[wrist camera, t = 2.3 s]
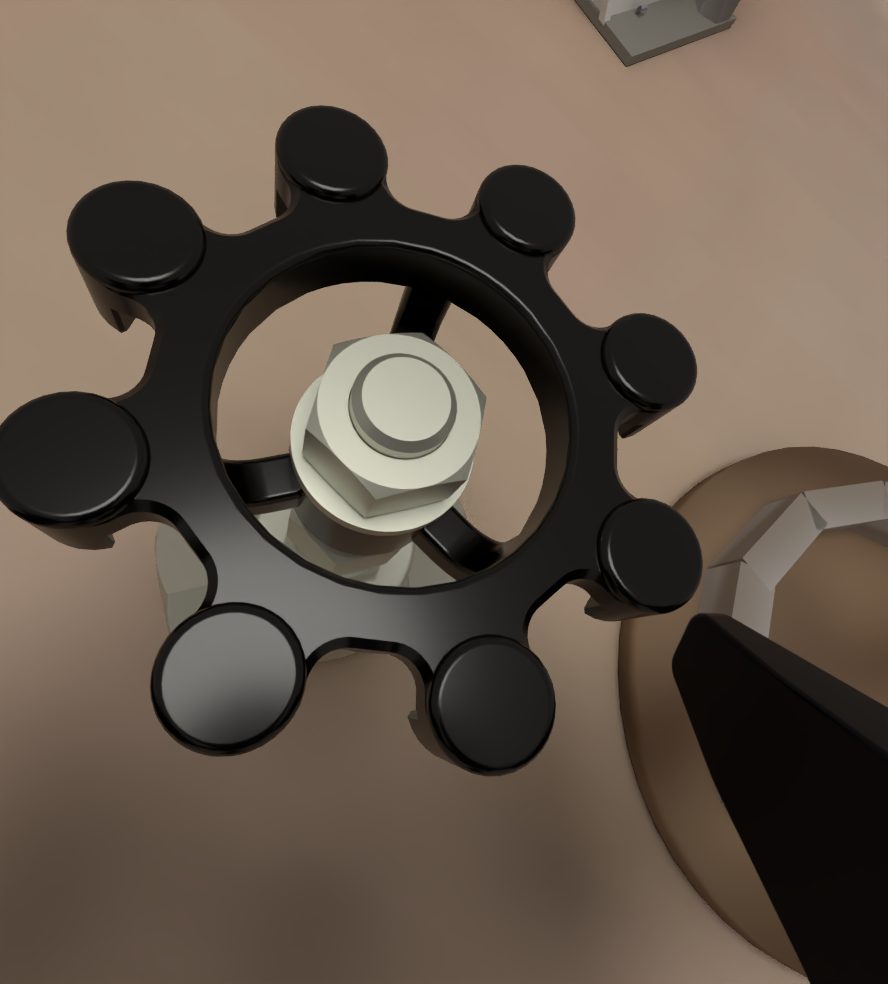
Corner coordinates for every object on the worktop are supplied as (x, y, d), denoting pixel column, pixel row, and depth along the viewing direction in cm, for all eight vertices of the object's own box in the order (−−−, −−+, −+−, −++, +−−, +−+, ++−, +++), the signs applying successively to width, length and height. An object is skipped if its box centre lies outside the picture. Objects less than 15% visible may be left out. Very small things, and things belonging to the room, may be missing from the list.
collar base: (1103, 890, 21) (1209, 918, 18) (706, 1078, 16) (780, 1147, 14) (929, 438, 24) (998, 413, 22) (564, 480, 20) (604, 454, 17)
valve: (161, 491, 16) (-70, 100, 5) (399, 446, 18) (596, 99, 7) (211, 748, 15) (52, 958, 4) (462, 667, 17) (818, 654, 6)
